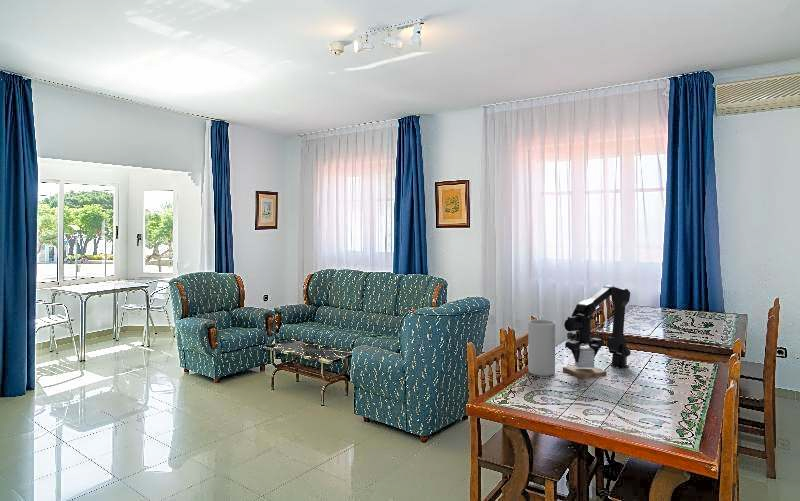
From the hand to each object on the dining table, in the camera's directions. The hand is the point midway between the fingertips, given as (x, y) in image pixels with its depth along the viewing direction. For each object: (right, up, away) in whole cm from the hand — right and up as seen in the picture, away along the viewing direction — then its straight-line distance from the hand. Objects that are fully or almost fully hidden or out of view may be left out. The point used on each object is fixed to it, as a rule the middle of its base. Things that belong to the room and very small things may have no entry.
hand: (584, 361), depth 233 cm
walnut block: (0, -6, 0) cm, 6 cm away
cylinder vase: (-20, -6, +2) cm, 21 cm away
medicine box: (0, -3, 0) cm, 3 cm away
